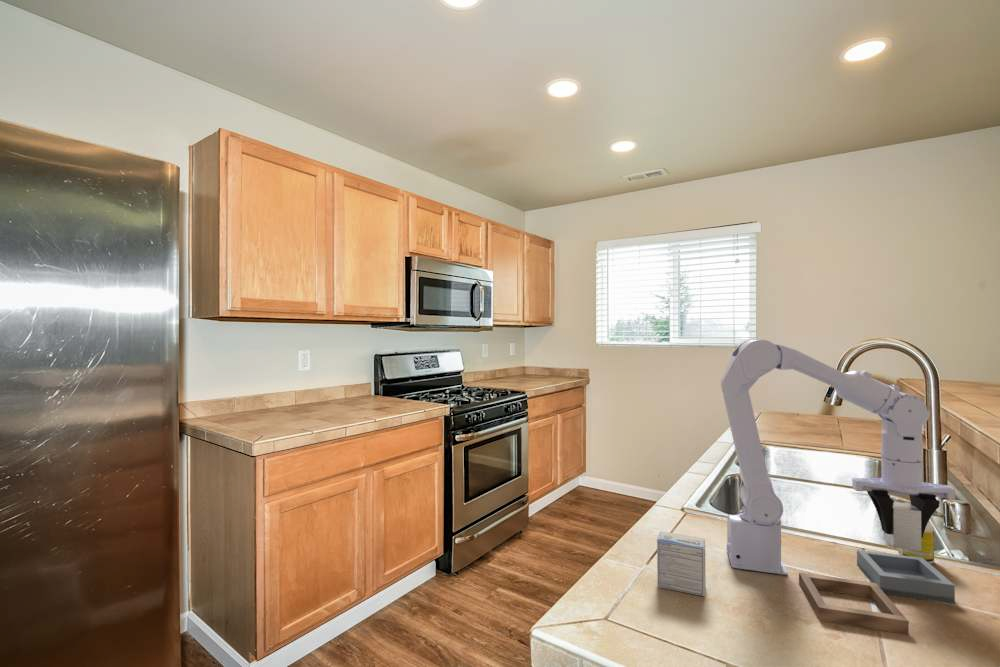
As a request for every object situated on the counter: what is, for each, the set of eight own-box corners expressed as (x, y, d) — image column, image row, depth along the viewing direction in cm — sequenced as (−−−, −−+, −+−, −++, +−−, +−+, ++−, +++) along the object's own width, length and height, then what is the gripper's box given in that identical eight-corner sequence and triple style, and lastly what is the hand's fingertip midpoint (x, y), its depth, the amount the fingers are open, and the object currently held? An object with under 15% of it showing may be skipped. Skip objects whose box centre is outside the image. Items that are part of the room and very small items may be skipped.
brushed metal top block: (893, 547, 85) (893, 508, 85) (884, 538, 89) (883, 500, 89) (921, 550, 84) (921, 511, 84) (910, 541, 88) (910, 503, 88)
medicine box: (705, 585, 86) (705, 537, 86) (705, 598, 82) (704, 547, 82) (659, 576, 89) (659, 530, 89) (656, 587, 85) (656, 539, 85)
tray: (880, 592, 83) (880, 575, 83) (857, 565, 93) (856, 549, 93) (954, 603, 80) (954, 585, 80) (922, 573, 90) (922, 557, 90)
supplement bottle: (941, 566, 92) (941, 516, 92) (909, 564, 94) (908, 514, 94) (922, 554, 98) (922, 506, 98) (892, 551, 99) (892, 504, 99)
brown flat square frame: (819, 619, 75) (818, 607, 75) (798, 583, 86) (798, 572, 86) (908, 634, 72) (908, 621, 72) (875, 594, 83) (875, 583, 83)
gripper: (862, 461, 85) (863, 537, 85) (965, 468, 80) (965, 548, 80) (848, 451, 92) (848, 522, 92) (941, 457, 87) (942, 532, 87)
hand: (901, 533), depth 86 cm, fingers closed on brushed metal top block, 4 cm apart
